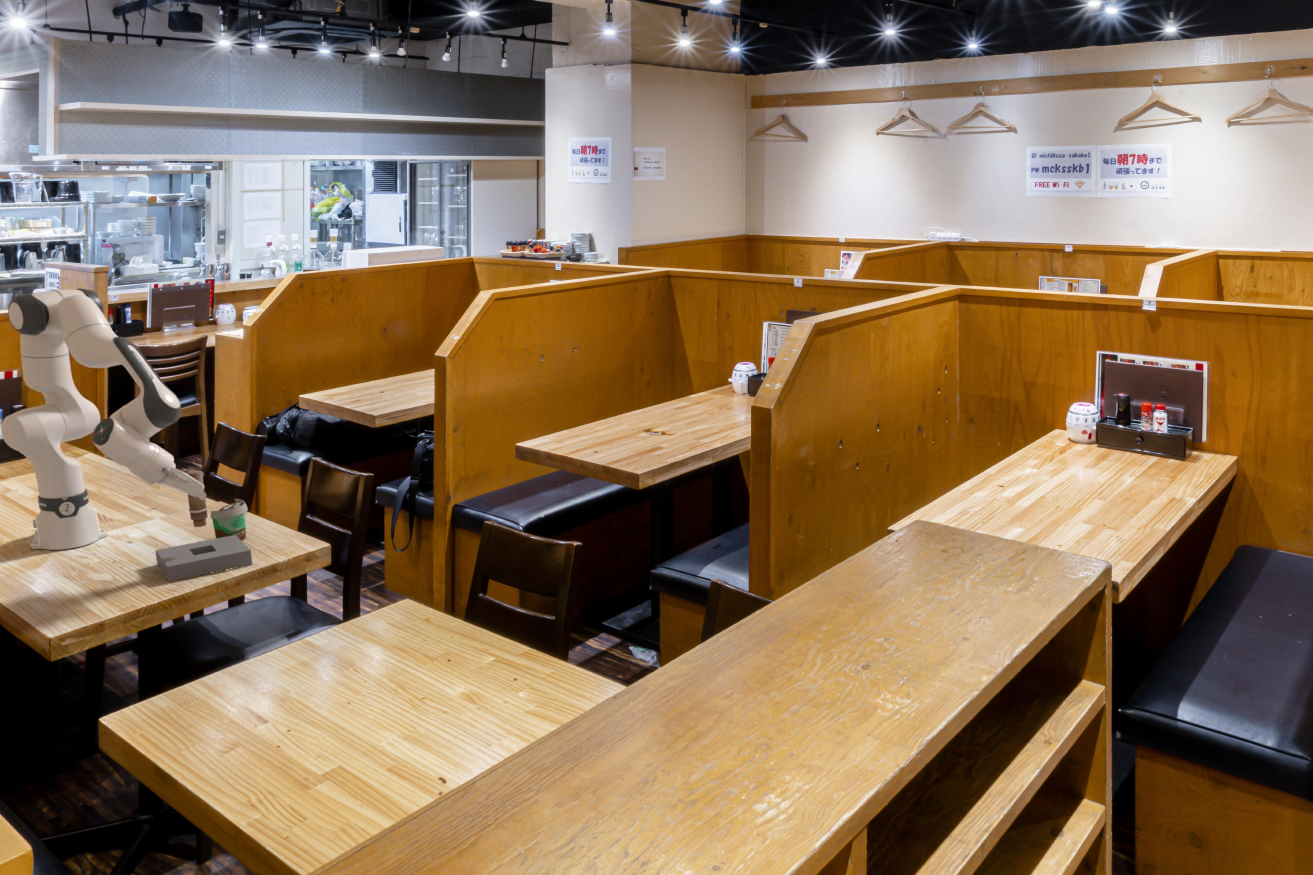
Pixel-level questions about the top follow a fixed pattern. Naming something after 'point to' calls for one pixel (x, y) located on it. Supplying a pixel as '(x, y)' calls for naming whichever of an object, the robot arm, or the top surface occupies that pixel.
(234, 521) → the food container
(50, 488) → the robot arm
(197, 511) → the peg
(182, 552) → the board
